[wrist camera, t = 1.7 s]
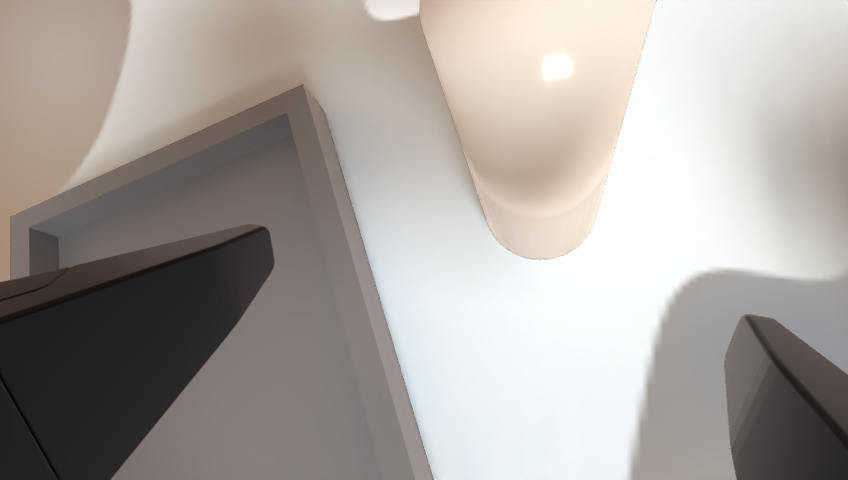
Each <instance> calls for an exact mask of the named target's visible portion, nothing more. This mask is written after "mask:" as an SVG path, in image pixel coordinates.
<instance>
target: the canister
mask: <svg viewBox="0 0 848 480" xmlns="http://www.w3.org/2000/svg"><path fill="white" fill-rule="evenodd" d="M656 1H657V0H420V20H421V26H422V29H423V32H424V35H425V38H426V41H427V44H428V47H429V50H430V53H431V56H432V59H433V62H434V65H435V68H436V71H437V74H438V77H439V80H440V83H441V86H442V89H443V92H444V95H445V98H446V101H447V104H448V107H449V110H450V113H451V116H452V119H453V122H454V124H455V127H456V130H457V133H458V136H459V139H460V142H461V145H462V148H463V151H464V154H465V157H466V160H467V163H468V166H469V169H470V172H471V175H472V178H473V181H474V184H475V187H476V190H477V193H478V196H479V199H480V202H481V205H482V208H483V211H484V214H485V217H486V220H487V223H488V226H489V228H490V230H491V232H492V234H493V236H494V237H495V239H496V240H497V241H498V242H499V243H500V244H501V245H502V246H503V247H504V248H505V249H507V250H508V251H510V252H512V253H514V254H516V255H518V256H521V257H524V258H528V259H534V260H547V259H553V258H557V257H560V256H563V255H565V254H567V253H569V252H571V251H573V250H574V249H576V248H577V247H578V246H579V245H581V244H582V243H583V242H584V240H585V239H586V238H587V237H588V235H589V234H590V232H591V230H592V228H593V226H594V223H595V220H596V217H597V213H598V210H599V206H600V203H601V199H602V195H603V192H604V188H605V185H606V181H607V177H608V174H609V170H610V166H611V163H612V159H613V156H614V152H615V148H616V145H617V141H618V138H619V134H620V130H621V127H622V123H623V120H624V116H625V112H626V109H627V105H628V102H629V98H630V94H631V91H632V87H633V84H634V80H635V76H636V73H637V69H638V66H639V62H640V58H641V55H642V51H643V48H644V44H645V40H646V37H647V33H648V29H649V26H650V22H651V19H652V15H653V11H654V8H655V4H656Z"/></svg>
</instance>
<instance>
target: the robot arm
mask: <svg viewBox="0 0 848 480" xmlns="http://www.w3.org/2000/svg"><path fill="white" fill-rule="evenodd" d="M274 264H275V258H274V252H273V246H272V240H271V234H270V231H269V230H268V228H266V227H265V226H261V225H255V224H245V225H241V226H237V227H233V228H229V229H224V230H220V231H216V232H212V233H208V234H203V235H199V236H195V237H191V238H187V239H182V240H178V241H174V242H170V243H166V244H161V245H157V246H153V247H149V248H145V249H141V250H136V251H132V252H128V253H124V254H120V255H115V256H111V257H107V258H103V259H99V260H94V261H90V262H86V263H82V264H78V265H74V266H72V267H71V268H70V267H65V268H61V269H56V270H52V271H48V272H44V273H39V274H35V275H31V276H26V277H22V278H18V279H13V280H8V281H4V282H0V480H111V479H112V478H113V476H114V475H115V474H116V473H117V472H118V470H119V469H120V468H121V467H122V465H123V464H124V463H125V462H126V460H127V459H128V458H129V457H130V456H131V454H132V453H133V452H134V451H135V449H136V448H137V447H138V446H139V444H140V443H141V442H142V441H143V440H144V438H145V437H146V436H147V435H148V433H149V432H150V431H151V430H152V429H153V427H154V426H155V425H156V424H157V422H158V421H159V420H160V419H161V417H162V416H163V415H164V414H165V413H166V411H167V410H168V409H169V408H170V406H171V405H172V404H173V403H174V401H175V400H176V399H177V398H178V397H179V395H180V394H181V393H182V392H183V390H184V389H185V388H186V387H187V385H188V384H189V383H190V382H191V381H192V379H193V378H194V377H195V376H196V374H197V373H198V372H199V371H200V369H201V368H202V367H203V366H204V365H205V363H206V362H207V361H208V360H209V358H210V357H211V356H212V355H213V354H214V352H215V351H216V350H217V349H218V347H219V346H220V345H221V344H222V342H223V341H224V340H225V339H226V338H227V336H228V335H229V334H230V333H231V331H232V330H233V329H234V327H235V326H236V325H237V324H238V322H239V321H240V319H241V318H242V316H243V315H244V313H245V312H246V310H247V309H248V307H249V306H250V304H251V303H252V301H253V300H254V298H255V297H256V295H257V294H258V292H259V291H260V289H261V288H262V286H263V285H264V283H265V281H266V280H267V278H268V277H269V275H270V274H271V272H272V271H273V268H274ZM724 370H725V383H726V397H727V410H728V423H729V436H730V446H731V453H732V459H733V464H734V469H735V474H736V478H737V480H848V375H847V374H846V373H845V372H844V371H842V370H841V369H839V368H838V367H837V366H836V365H834V364H833V363H832V362H830V361H829V360H827V359H826V358H825V357H824V356H822V355H821V354H820V353H818V352H817V351H816V350H814V349H813V348H812V347H810V346H809V345H808V344H806V343H805V342H804V341H802V340H801V339H799V338H798V337H797V336H796V335H794V334H793V333H792V332H790V331H789V330H788V329H786V328H785V327H784V326H782V325H781V324H780V323H778V322H777V321H776V320H774V319H771V318H767V317H762V316H757V315H751V314H745V315H743V316H742V317H741V318H740V320H739V322H738V324H737V326H736V329H735V331H734V334H733V336H732V339H731V341H730V344H729V347H728V349H727V352H726V355H725V361H724Z"/></svg>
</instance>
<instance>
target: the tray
mask: <svg viewBox="0 0 848 480" xmlns="http://www.w3.org/2000/svg"><path fill="white" fill-rule="evenodd" d="M10 218H11V219H10V223H11V224H10V228H11V230H10V235H11V236H10V250H11V251H10V280H13V279H18V278H22V277H26V276H31V275H35V274H39V273H44V272H48V271H52V270H56V269H61V268H65V267H70V268H71V267H72V266H74V265H78V264H82V263H86V262H90V261H94V260H99V259H103V258H107V257H111V256H115V255H120V254H124V253H128V252H132V251H136V250H141V249H145V248H149V247H153V246H157V245H161V244H166V243H170V242H174V241H178V240H182V239H187V238H191V237H195V236H199V235H203V234H208V233H212V232H216V231H220V230H224V229H229V228H233V227H237V226H241V225H245V224H255V225H261V226H265V227H266V228H268V230H269V231H270V234H271V240H272V246H273V252H274V258H275V264H274V268H273V271H272V272H271V274H270V275H269V277H268V278H267V280H266V281H265V283H264V285H263V286H262V288H261V289H260V291H259V292H258V294H257V295H256V297H255V298H254V300H253V301H252V303H251V304H250V306H249V307H248V309H247V310H246V312H245V313H244V315H243V316H242V318H241V319H240V321H239V322H238V324H237V325H236V326H235V327H234V329H233V330H232V331H231V333H230V334H229V335H228V336H227V338H226V339H225V340H224V341H223V342H222V344H221V345H220V346H219V347H218V349H217V350H216V351H215V352H214V354H213V355H212V356H211V357H210V358H209V360H208V361H207V362H206V363H205V365H204V366H203V367H202V368H201V369H200V371H199V372H198V373H197V374H196V376H195V377H194V378H193V379H192V381H191V382H190V383H189V384H188V385H187V387H186V388H185V389H184V390H183V392H182V393H181V394H180V395H179V397H178V398H177V399H176V400H175V401H174V403H173V404H172V405H171V406H170V408H169V409H168V410H167V411H166V413H165V414H164V415H163V416H162V417H161V419H160V420H159V421H158V422H157V424H156V425H155V426H154V427H153V429H152V430H151V431H150V432H149V433H148V435H147V436H146V437H145V438H144V440H143V441H142V442H141V443H140V444H139V446H138V447H137V448H136V449H135V451H134V452H133V453H132V454H131V456H130V457H129V458H128V459H127V460H126V462H125V463H124V464H123V465H122V467H121V468H120V469H119V470H118V472H117V473H116V474H115V475H114V476H113V478H112V479H111V480H433V477H432V474H431V470H430V467H429V464H428V460H427V457H426V453H425V450H424V447H423V443H422V440H421V437H420V433H419V430H418V427H417V423H416V420H415V416H414V413H413V410H412V406H411V403H410V400H409V396H408V393H407V389H406V386H405V383H404V379H403V376H402V373H401V369H400V366H399V362H398V359H397V356H396V352H395V349H394V346H393V342H392V339H391V335H390V332H389V329H388V325H387V322H386V319H385V315H384V312H383V309H382V305H381V302H380V298H379V295H378V292H377V288H376V285H375V282H374V278H373V275H372V271H371V268H370V265H369V261H368V258H367V255H366V251H365V248H364V244H363V241H362V238H361V234H360V231H359V228H358V224H357V221H356V217H355V214H354V211H353V207H352V204H351V201H350V197H349V194H348V191H347V187H346V184H345V180H344V177H343V174H342V170H341V167H340V164H339V160H338V157H337V153H336V150H335V147H334V143H333V140H332V137H331V133H330V130H329V126H328V123H327V120H326V116H325V113H324V111H323V109H322V108H321V107H320V105H319V104H318V103H317V102H316V100H315V99H314V98H313V96H312V95H311V94H310V93H309V91H308V90H307V89H306V87H305V86H304V85H301V86H298V87H296V88H294V89H292V90H290V91H287V92H285V93H283V94H281V95H279V96H276V97H274V98H272V99H270V100H268V101H265V102H263V103H261V104H259V105H256V106H254V107H252V108H250V109H248V110H245V111H243V112H241V113H239V114H237V115H234V116H232V117H230V118H228V119H226V120H223V121H221V122H219V123H217V124H215V125H212V126H210V127H208V128H206V129H203V130H201V131H199V132H197V133H195V134H192V135H190V136H188V137H186V138H184V139H181V140H179V141H177V142H175V143H173V144H170V145H168V146H166V147H164V148H161V149H159V150H157V151H155V152H153V153H150V154H148V155H146V156H144V157H142V158H139V159H137V160H135V161H133V162H131V163H128V164H126V165H124V166H122V167H119V168H117V169H115V170H113V171H111V172H108V173H106V174H104V175H102V176H100V177H97V178H95V179H93V180H91V181H89V182H86V183H84V184H82V185H80V186H77V187H75V188H73V189H71V190H69V191H66V192H64V193H62V194H60V195H58V196H55V197H53V198H51V199H49V200H47V201H44V202H42V203H40V204H38V205H36V206H33V207H31V208H29V209H27V210H24V211H22V212H20V213H18V214H16V215H13V216H11V217H10Z"/></svg>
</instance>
